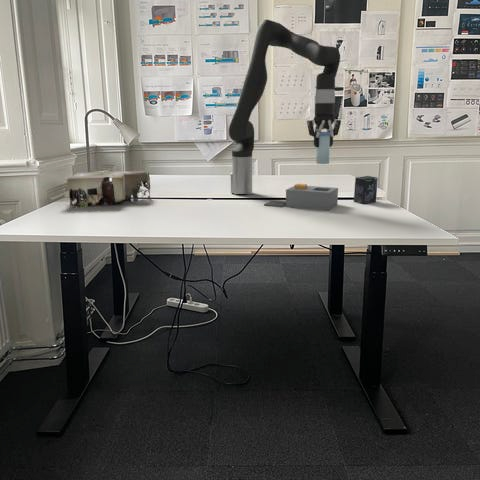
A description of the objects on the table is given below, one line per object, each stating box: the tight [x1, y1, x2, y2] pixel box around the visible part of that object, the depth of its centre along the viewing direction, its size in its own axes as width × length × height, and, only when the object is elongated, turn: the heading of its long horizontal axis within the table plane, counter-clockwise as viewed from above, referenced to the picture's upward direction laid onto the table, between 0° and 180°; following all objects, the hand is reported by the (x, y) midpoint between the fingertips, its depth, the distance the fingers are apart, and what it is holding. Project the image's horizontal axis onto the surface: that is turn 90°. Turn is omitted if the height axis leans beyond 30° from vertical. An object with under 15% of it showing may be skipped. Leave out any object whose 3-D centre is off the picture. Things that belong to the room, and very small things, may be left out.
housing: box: [285, 185, 339, 211], centre depth 199 cm, size 18×12×7 cm, turn 63°
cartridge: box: [315, 131, 331, 165], centre depth 192 cm, size 5×5×12 cm
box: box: [353, 175, 379, 205], centre depth 204 cm, size 8×6×11 cm
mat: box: [263, 200, 286, 208], centre depth 203 cm, size 8×8×1 cm
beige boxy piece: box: [66, 170, 151, 208], centre depth 208 cm, size 18×32×13 cm, turn 94°
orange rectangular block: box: [294, 183, 308, 189], centre depth 201 cm, size 4×4×5 cm
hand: (323, 146), depth 192 cm, fingers closed on cartridge, 5 cm apart
